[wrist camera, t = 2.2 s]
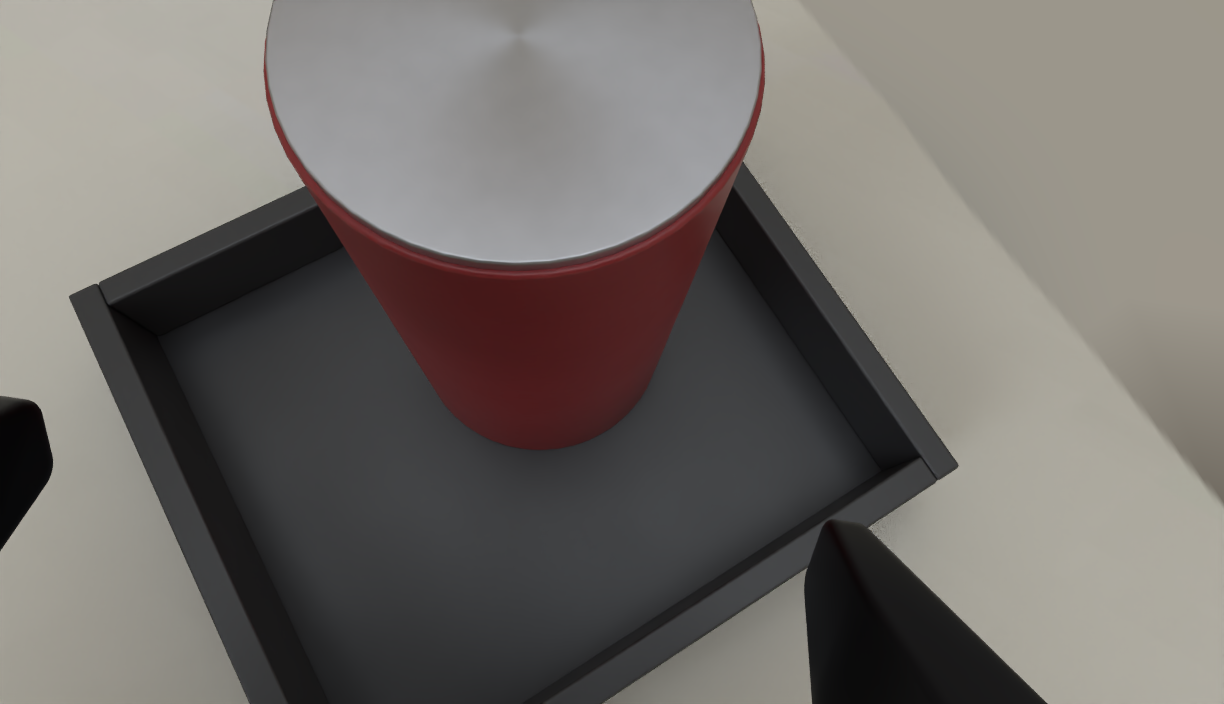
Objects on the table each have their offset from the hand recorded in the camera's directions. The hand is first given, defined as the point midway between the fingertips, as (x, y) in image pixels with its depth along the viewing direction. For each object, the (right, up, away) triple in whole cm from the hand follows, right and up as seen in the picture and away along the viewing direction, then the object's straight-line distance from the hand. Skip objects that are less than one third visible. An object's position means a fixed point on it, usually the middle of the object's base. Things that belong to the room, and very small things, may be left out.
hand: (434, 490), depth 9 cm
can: (0, +2, +13) cm, 13 cm away
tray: (-1, 0, +13) cm, 13 cm away
